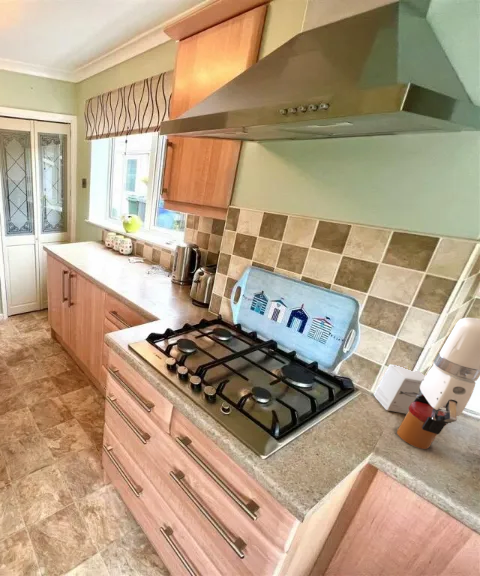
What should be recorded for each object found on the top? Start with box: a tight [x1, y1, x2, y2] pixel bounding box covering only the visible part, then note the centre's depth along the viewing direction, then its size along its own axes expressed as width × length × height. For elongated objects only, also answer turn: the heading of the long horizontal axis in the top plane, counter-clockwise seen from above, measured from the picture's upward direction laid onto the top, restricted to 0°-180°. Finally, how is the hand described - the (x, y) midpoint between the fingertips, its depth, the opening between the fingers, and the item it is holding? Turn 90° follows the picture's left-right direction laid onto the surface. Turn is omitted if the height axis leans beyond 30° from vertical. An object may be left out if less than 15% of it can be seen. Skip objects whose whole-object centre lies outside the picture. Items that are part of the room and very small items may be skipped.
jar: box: [396, 411, 439, 450], centre depth 82 cm, size 7×7×10 cm
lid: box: [409, 402, 448, 426], centre depth 81 cm, size 7×7×2 cm
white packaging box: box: [373, 363, 426, 415], centre depth 94 cm, size 7×7×13 cm
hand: (423, 420), depth 82 cm, fingers closed on lid, 7 cm apart
